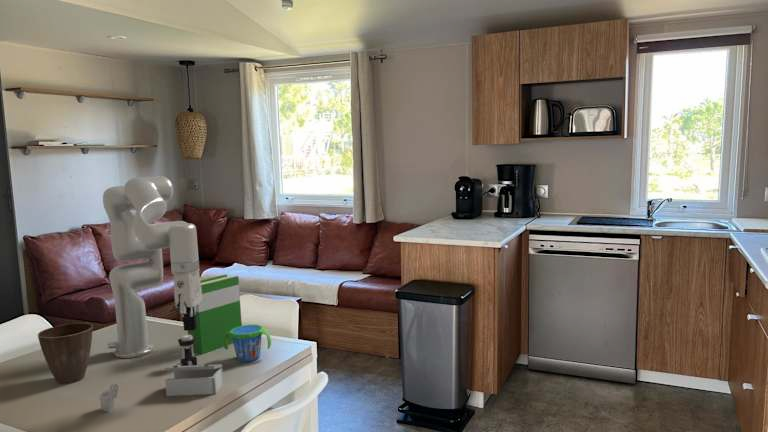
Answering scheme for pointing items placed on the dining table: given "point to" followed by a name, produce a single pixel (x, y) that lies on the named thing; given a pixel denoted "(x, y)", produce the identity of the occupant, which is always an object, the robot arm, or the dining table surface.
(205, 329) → the hardback book
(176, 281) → the robot arm
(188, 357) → the push button
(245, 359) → the snack cup
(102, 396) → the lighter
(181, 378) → the open box
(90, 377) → the dining table surface
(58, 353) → the plant pot
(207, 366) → the cover
